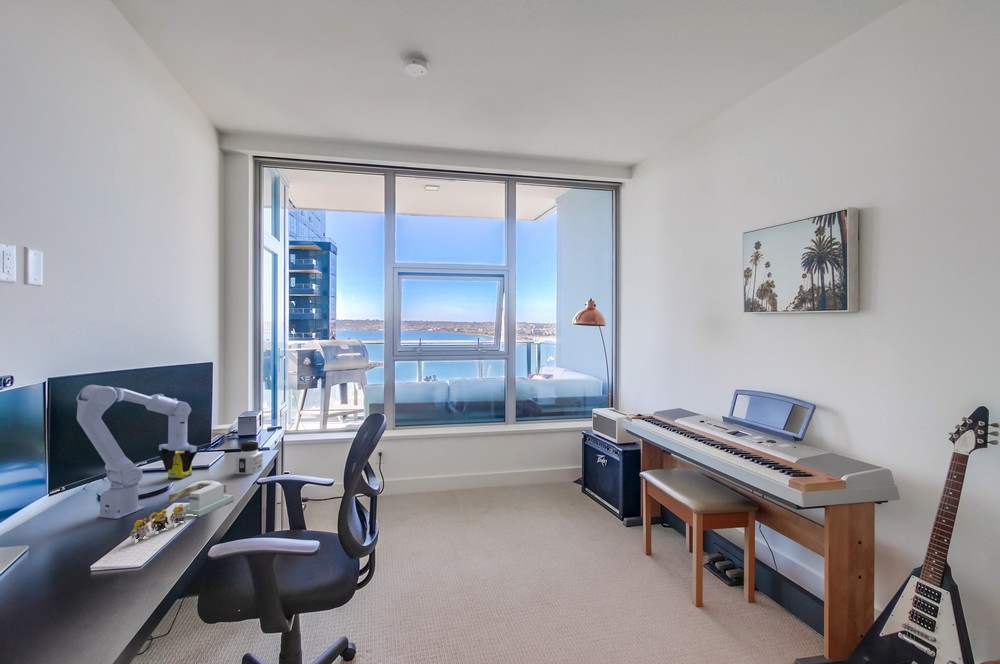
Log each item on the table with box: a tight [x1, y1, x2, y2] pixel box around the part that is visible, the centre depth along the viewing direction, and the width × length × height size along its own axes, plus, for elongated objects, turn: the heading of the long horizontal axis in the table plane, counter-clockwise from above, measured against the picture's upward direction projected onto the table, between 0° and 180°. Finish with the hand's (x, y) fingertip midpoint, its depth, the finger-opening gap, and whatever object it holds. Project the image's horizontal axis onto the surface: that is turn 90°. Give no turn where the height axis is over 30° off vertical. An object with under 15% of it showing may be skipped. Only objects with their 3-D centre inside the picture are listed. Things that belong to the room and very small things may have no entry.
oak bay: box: [168, 482, 227, 503], centre depth 166 cm, size 13×12×2 cm
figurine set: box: [129, 504, 188, 541], centre depth 137 cm, size 3×16×7 cm, turn 163°
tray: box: [181, 493, 235, 518], centre depth 156 cm, size 15×9×2 cm, turn 168°
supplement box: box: [167, 451, 193, 480], centre depth 188 cm, size 6×6×11 cm
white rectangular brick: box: [188, 483, 225, 510], centre depth 155 cm, size 11×4×6 cm, turn 168°
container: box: [235, 440, 264, 475], centre depth 196 cm, size 8×8×13 cm
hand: (177, 470), depth 166 cm, fingers open, 7 cm apart
